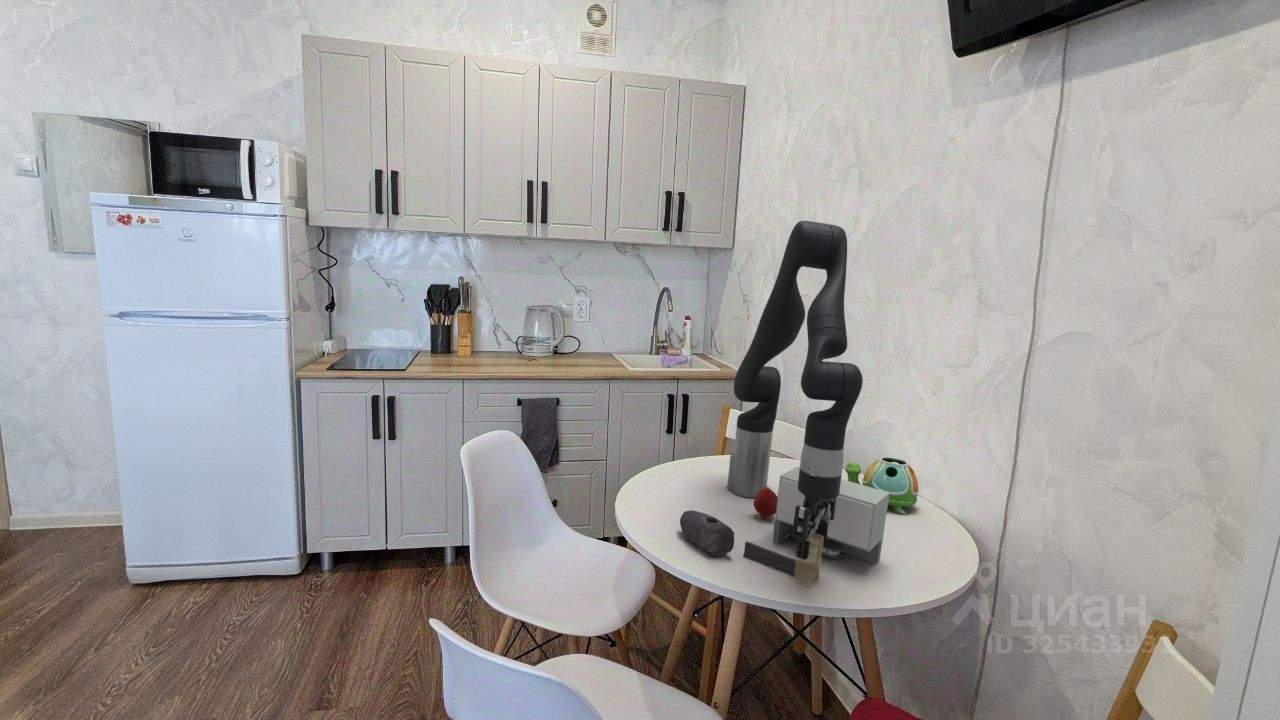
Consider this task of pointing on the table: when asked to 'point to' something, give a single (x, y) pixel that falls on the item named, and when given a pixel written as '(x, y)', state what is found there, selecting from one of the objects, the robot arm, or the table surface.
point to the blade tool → (791, 560)
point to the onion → (766, 502)
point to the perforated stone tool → (707, 532)
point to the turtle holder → (889, 480)
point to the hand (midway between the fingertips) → (810, 550)
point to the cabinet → (839, 516)
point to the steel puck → (831, 550)
